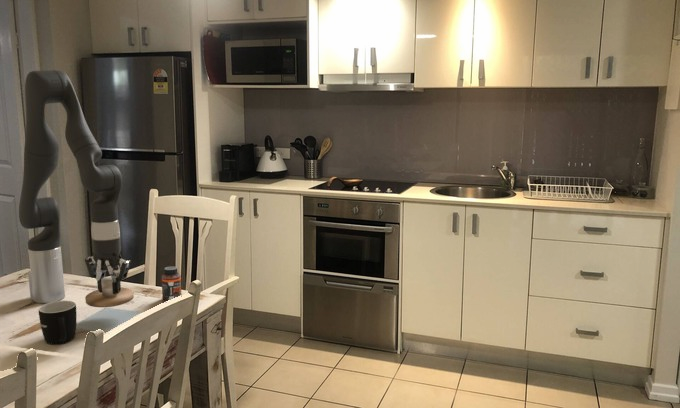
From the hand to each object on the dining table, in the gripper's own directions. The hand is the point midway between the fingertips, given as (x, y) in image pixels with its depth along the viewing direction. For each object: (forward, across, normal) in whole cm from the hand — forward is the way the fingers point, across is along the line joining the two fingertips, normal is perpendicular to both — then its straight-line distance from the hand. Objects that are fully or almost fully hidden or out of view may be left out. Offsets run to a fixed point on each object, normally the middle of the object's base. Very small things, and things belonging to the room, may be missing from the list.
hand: (109, 292), depth 164 cm
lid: (+2, 0, 0) cm, 2 cm away
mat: (+9, 0, 0) cm, 9 cm away
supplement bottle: (+9, +8, +20) cm, 23 cm away
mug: (+9, -4, -16) cm, 19 cm away
